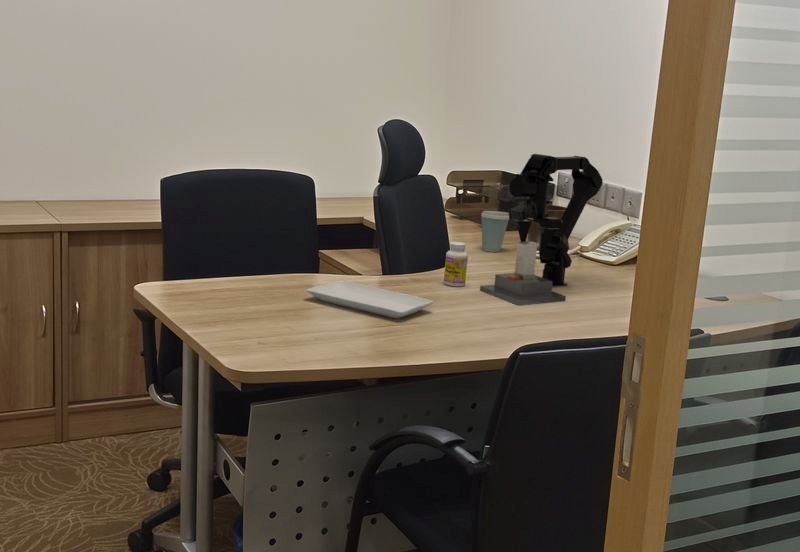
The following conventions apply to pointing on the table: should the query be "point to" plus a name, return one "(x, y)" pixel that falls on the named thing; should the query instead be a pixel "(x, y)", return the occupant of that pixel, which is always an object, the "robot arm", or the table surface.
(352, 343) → the table surface
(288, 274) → the table surface
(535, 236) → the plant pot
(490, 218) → the disposable coffee cup
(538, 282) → the red button base
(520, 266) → the column
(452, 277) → the supplement bottle
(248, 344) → the table surface
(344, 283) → the tray
